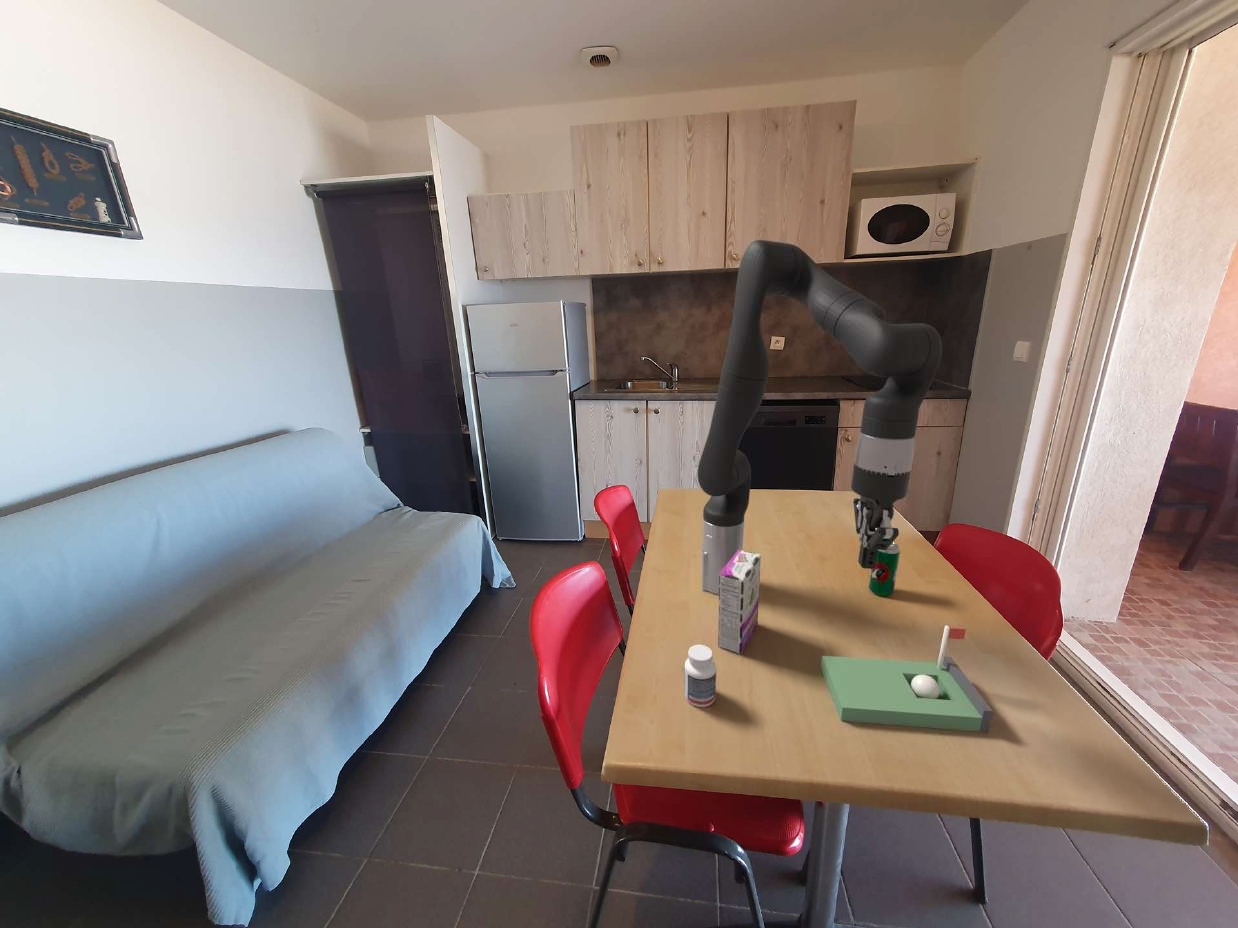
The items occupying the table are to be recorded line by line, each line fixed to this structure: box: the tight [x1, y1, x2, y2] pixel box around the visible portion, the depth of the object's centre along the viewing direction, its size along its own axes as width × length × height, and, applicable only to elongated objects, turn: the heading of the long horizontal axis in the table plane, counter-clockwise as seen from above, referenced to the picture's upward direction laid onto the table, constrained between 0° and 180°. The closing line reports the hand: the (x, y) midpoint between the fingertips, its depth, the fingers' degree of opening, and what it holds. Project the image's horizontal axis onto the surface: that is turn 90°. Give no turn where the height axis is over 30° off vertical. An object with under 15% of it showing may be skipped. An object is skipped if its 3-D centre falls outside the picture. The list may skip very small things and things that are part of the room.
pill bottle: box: [683, 644, 717, 708], centre depth 80 cm, size 5×5×9 cm
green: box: [820, 624, 994, 733], centre depth 78 cm, size 22×12×11 cm, turn 82°
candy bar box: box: [717, 549, 762, 655], centre depth 94 cm, size 11×5×16 cm, turn 148°
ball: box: [911, 675, 940, 699], centre depth 78 cm, size 4×4×4 cm
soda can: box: [868, 541, 901, 598], centre depth 108 cm, size 5×5×12 cm
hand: (866, 566), depth 76 cm, fingers closed
